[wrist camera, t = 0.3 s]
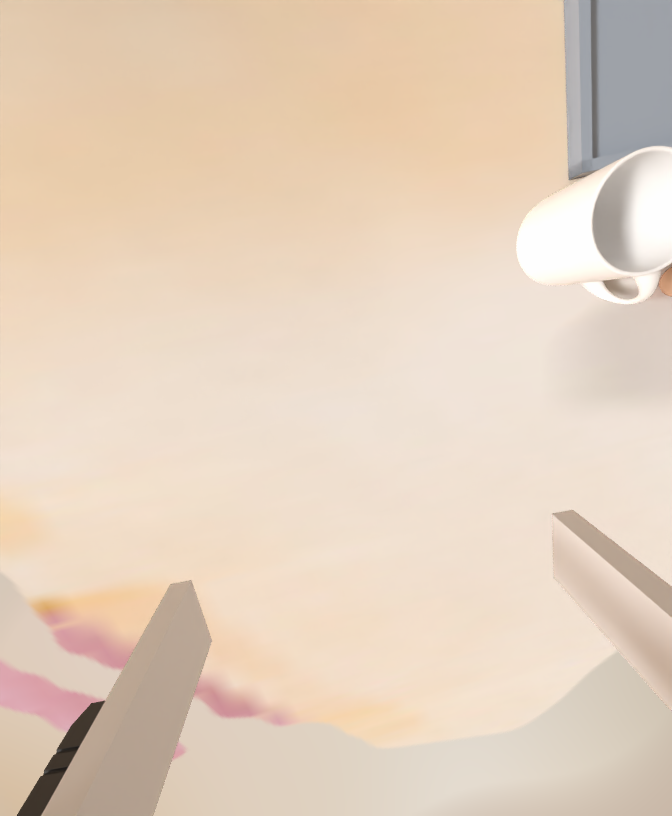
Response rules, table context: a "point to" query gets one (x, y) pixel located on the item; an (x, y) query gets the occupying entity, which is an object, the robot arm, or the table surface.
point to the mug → (604, 228)
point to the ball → (666, 282)
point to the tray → (616, 80)
